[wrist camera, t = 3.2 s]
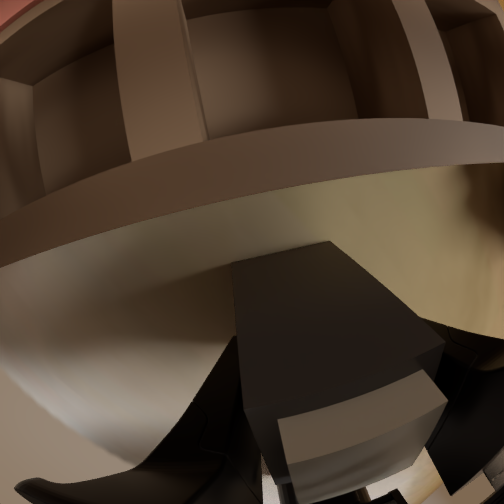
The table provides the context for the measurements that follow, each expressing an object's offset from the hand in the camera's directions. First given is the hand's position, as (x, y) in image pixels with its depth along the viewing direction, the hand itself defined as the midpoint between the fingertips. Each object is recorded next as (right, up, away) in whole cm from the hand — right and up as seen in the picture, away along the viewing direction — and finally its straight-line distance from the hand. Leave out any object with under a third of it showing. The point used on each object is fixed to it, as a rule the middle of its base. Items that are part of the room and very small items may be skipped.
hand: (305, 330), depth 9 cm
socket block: (-1, +11, -1) cm, 11 cm away
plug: (0, +1, +2) cm, 2 cm away
